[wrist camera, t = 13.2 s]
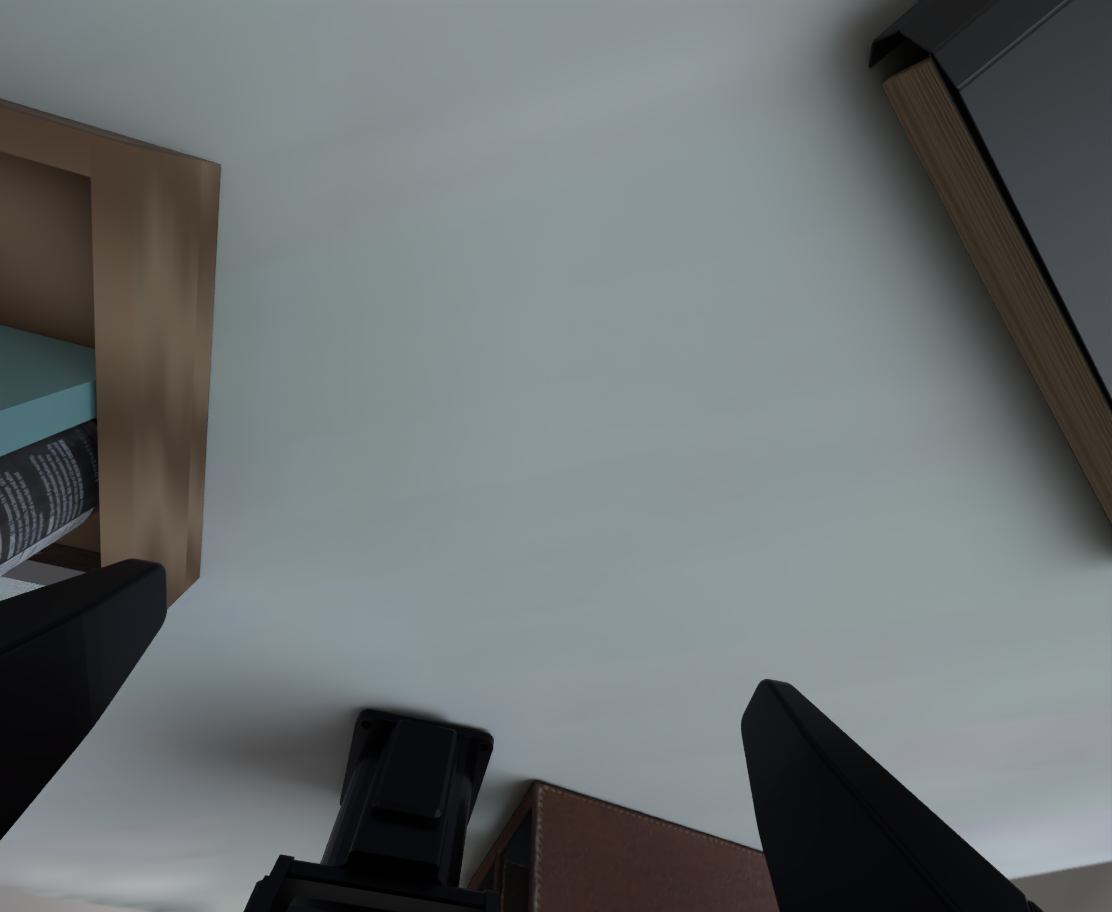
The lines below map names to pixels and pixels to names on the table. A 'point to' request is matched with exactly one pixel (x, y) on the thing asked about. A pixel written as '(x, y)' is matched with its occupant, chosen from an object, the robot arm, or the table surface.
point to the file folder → (1026, 182)
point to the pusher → (43, 387)
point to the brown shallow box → (118, 323)
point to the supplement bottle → (47, 491)
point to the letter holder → (616, 862)
